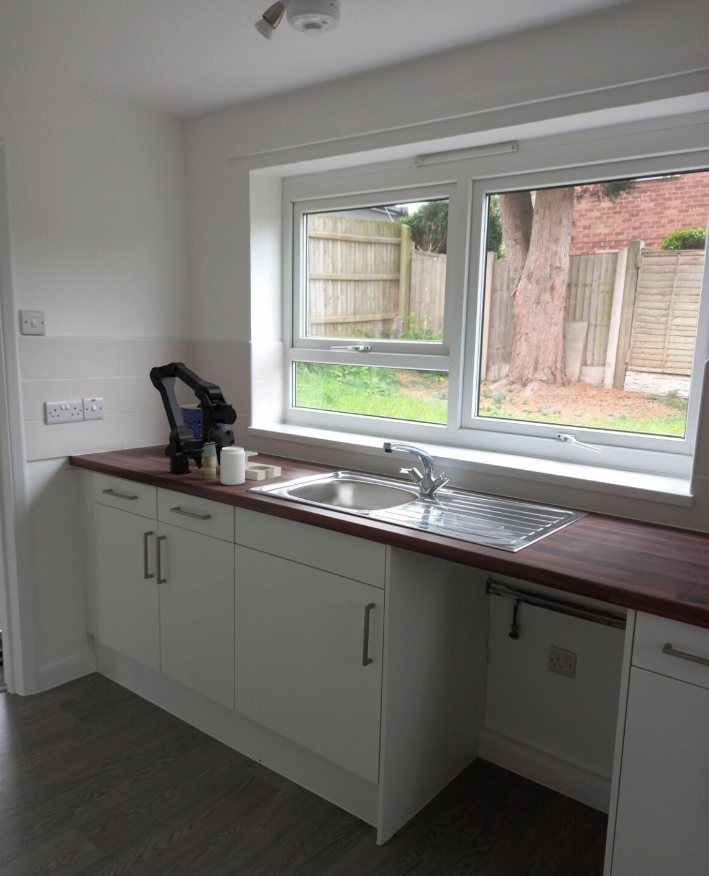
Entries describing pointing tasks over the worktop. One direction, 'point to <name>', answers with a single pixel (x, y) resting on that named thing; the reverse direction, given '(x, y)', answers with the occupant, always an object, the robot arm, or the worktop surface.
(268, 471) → the socket
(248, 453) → the mint green folder
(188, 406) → the planter
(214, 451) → the coffee cup
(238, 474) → the beverage can
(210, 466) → the peg
